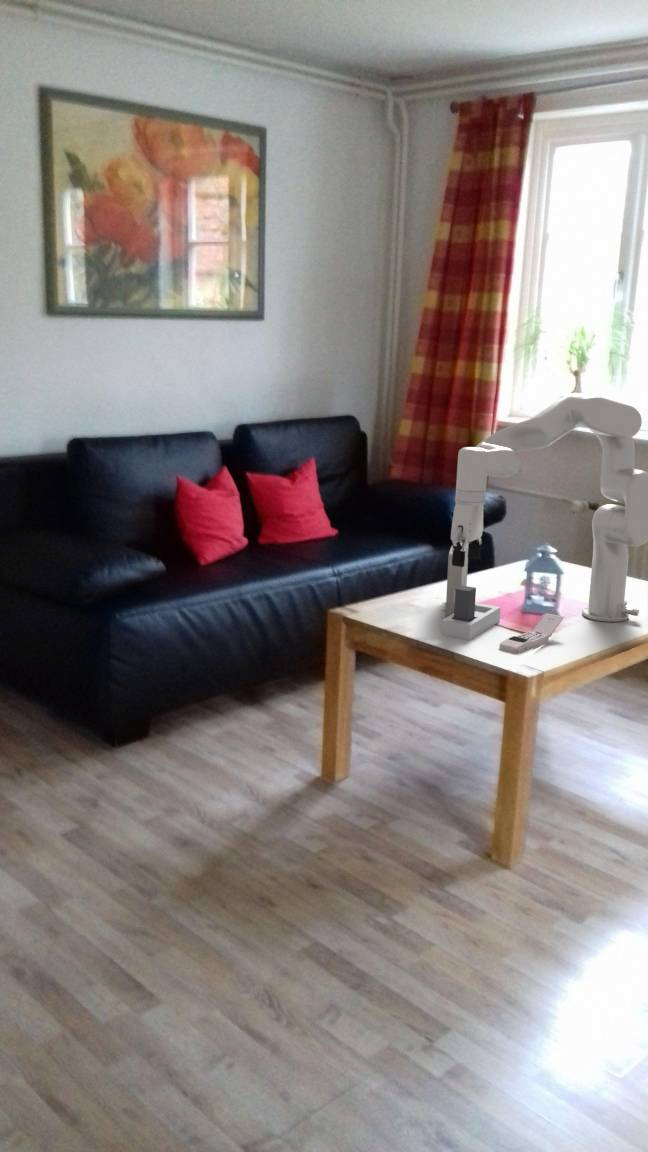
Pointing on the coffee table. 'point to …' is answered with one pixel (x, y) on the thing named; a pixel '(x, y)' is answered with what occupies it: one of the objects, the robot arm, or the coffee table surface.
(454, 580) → the network device
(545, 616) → the mobile phone
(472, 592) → the plug
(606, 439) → the robot arm
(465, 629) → the socket block
